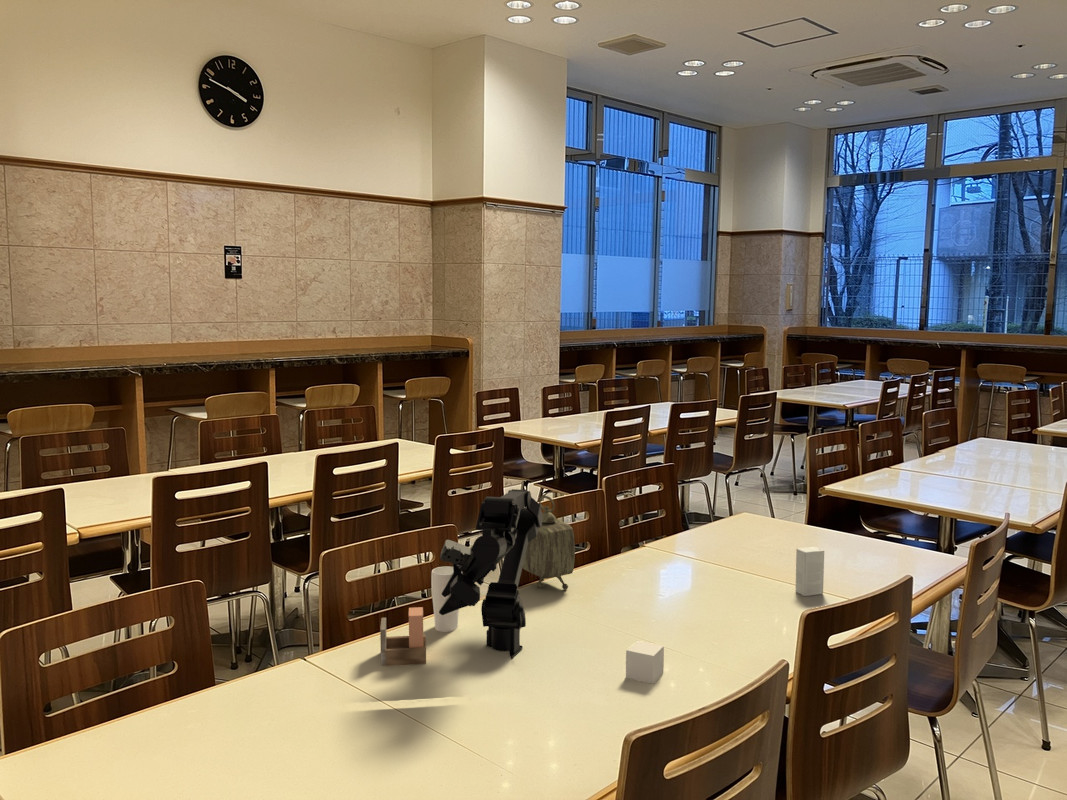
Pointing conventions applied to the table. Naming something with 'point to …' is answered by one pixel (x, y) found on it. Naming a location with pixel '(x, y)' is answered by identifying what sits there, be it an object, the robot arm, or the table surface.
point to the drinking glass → (442, 600)
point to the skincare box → (809, 571)
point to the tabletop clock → (551, 548)
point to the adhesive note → (644, 661)
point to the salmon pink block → (416, 627)
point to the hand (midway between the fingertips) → (441, 604)
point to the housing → (400, 649)
